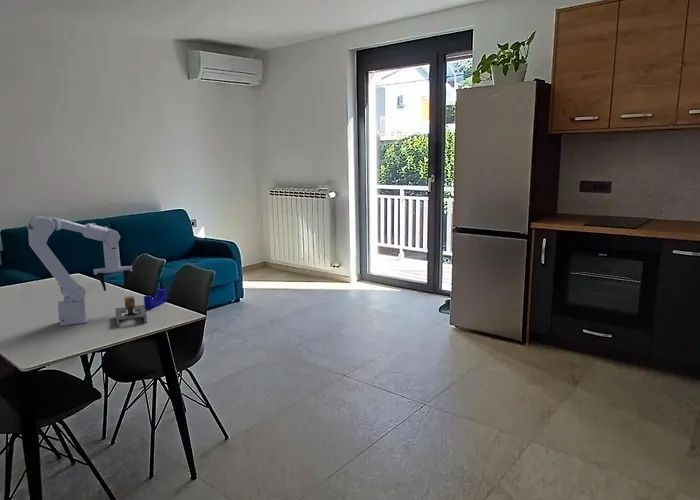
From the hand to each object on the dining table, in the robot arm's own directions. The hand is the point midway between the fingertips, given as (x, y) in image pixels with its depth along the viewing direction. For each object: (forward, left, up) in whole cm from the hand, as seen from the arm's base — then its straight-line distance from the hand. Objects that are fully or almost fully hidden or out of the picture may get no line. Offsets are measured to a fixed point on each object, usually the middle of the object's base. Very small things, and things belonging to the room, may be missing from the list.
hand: (115, 289), depth 212 cm
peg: (+5, -10, -10) cm, 15 cm away
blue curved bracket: (+15, +3, -10) cm, 18 cm away
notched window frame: (+5, -13, -10) cm, 17 cm away
